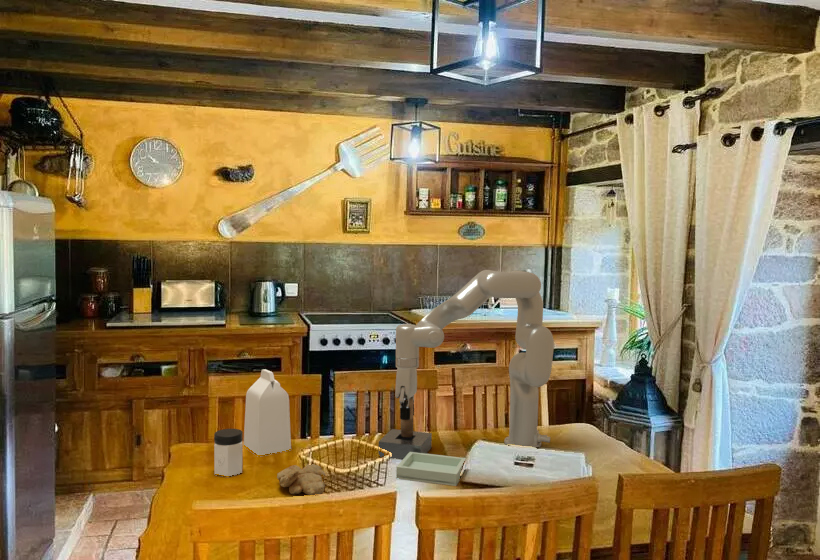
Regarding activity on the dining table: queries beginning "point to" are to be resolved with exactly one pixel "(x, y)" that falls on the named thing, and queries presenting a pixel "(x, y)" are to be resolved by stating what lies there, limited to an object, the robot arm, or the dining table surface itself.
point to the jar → (228, 452)
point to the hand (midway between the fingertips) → (407, 416)
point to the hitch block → (405, 443)
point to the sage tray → (430, 468)
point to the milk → (267, 416)
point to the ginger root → (302, 479)
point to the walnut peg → (408, 422)
